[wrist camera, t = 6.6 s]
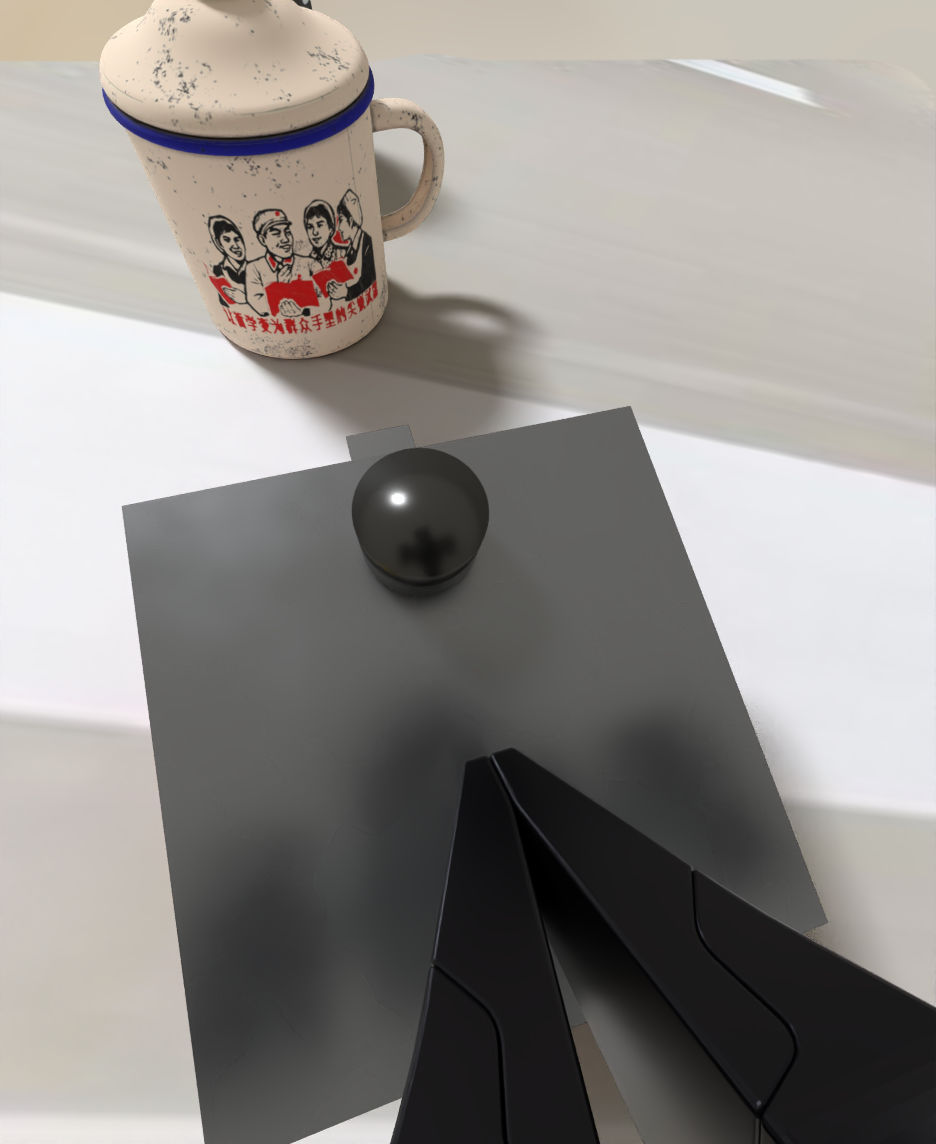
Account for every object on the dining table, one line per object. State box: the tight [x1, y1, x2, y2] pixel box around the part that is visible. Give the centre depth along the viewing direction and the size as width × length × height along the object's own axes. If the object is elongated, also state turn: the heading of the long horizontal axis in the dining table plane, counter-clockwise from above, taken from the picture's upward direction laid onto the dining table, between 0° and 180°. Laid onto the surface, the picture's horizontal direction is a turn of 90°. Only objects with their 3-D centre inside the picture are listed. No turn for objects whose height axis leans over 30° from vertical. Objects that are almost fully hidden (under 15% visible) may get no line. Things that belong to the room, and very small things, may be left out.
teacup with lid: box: [100, 0, 444, 359], centre depth 20 cm, size 12×9×12 cm
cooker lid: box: [122, 406, 828, 1144], centre depth 9 cm, size 11×11×3 cm
